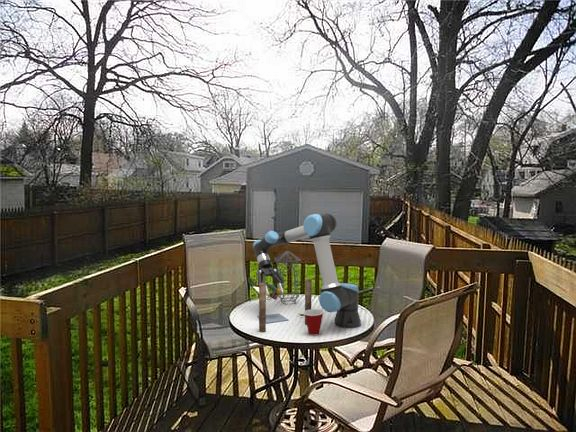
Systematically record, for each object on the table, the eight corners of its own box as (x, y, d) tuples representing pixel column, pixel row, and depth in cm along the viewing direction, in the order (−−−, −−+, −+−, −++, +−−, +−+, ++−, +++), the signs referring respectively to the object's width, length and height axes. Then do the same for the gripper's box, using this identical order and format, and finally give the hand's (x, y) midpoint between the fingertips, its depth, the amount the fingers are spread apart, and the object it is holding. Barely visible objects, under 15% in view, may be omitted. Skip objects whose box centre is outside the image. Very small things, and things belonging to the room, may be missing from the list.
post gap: (312, 324, 252) (312, 279, 250) (260, 332, 239) (260, 284, 237) (309, 323, 255) (309, 278, 254) (258, 330, 242) (258, 283, 240)
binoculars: (275, 304, 258) (283, 289, 260) (263, 297, 254) (271, 282, 256) (268, 300, 267) (276, 286, 268) (256, 294, 263) (265, 279, 265)
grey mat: (288, 320, 260) (288, 319, 260) (266, 323, 254) (266, 322, 254) (278, 314, 273) (278, 313, 273) (257, 317, 267) (257, 316, 267)
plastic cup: (302, 330, 243) (302, 308, 242) (322, 329, 244) (322, 308, 243) (304, 336, 232) (304, 314, 231) (325, 336, 233) (325, 314, 232)
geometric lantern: (279, 306, 291) (278, 253, 289) (274, 300, 306) (273, 250, 304) (302, 304, 294) (302, 252, 293) (296, 299, 310) (295, 249, 308)
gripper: (278, 264, 280) (289, 295, 267) (246, 267, 271) (256, 299, 257) (282, 257, 275) (293, 288, 261) (249, 260, 265) (259, 292, 252)
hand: (275, 294), depth 259 cm, fingers closed on binoculars, 9 cm apart
